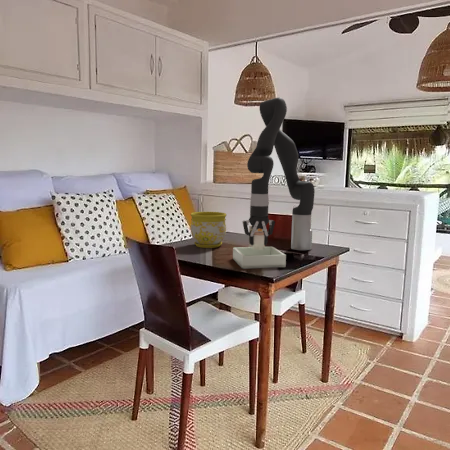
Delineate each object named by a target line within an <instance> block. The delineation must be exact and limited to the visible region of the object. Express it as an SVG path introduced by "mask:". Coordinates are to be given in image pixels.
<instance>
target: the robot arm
mask: <svg viewBox="0 0 450 450" xmlns="http://www.w3.org/2000/svg"><path fill="white" fill-rule="evenodd" d="M287 107H288V106H287V103H286V101H285V100H284V98H283V97H275V98H271V99H268V100H264V101H262V102H260V104H259V113H260V116H261V120H262V121H263V123H264V126H265V127H264V128H263V130H262V131H261V132H260V134H259V137H258V139H257V143H256V146H255V149H254V150H253V152H252V153H251V154H250V156H249V158H248V160H247V164H246V166H247V169H248V171H249V173H252V174H262V176H261V177H259V178H256V179H252V180H251V186H250V187H251V188H250V189H251V191H250V192H251V193H250V200H249V202H250V203H249V204H250V205H249V206H250V207H249V218H248V219H246V220H242V226H243V231H244V234H245V235H246V236H248V244H249V243H250V244H251V245H253V240H254V237H253V234H254V232H255V230H256V229H262V231H263V232H264V235H265V237H264V245H265V246H267V244H268V242H269V238H268V237H269V236H270V235H271V236H272V235H273V232H274V230H275V229H274V228H275V225H276V221H275V220H273V219H269V204H270V203H269V199H270V198H269V184H270V179H271V175H272V172H273V169H274V160H273V158H272V157H271V156H272V153H273V150H275V152H276V155H277V157H278V158H277V159H278V160H279V163H280V166H281V168H282V171H283V174H284V177H285V180H286V184H287V188H288V191H289V195H290V197H291V198H292V199H293V200H297V201H299V204H298V205H297V206H295V207H293V208H292V211H291V212H292V215H291V220H292V221H291V242H290V248H291V250H296V251H308V250H312V249H313V248H312V247H313V246H312V245H313V230H312V229H311V228H312V213H313V209H314V203H315V186H314V184H313V183H312V182H310V181H303V180H302V181H301V180H300V177H299V175H298V170H297V168H298V163H299V152H298V150H297V146H296V143H295V142H294V140H293V139H292V138H291V137H290V136H288V134H286V133H285V132H283V131H282V130H281V127H282V125H283V122H284V120H285V119H286V115H287V111H288V108H287ZM274 148H275V149H274ZM249 224H250V225H249ZM267 225H269V227H268V229H267ZM249 226H251V229H250V232H249ZM254 228H255V229H254Z"/></svg>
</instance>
